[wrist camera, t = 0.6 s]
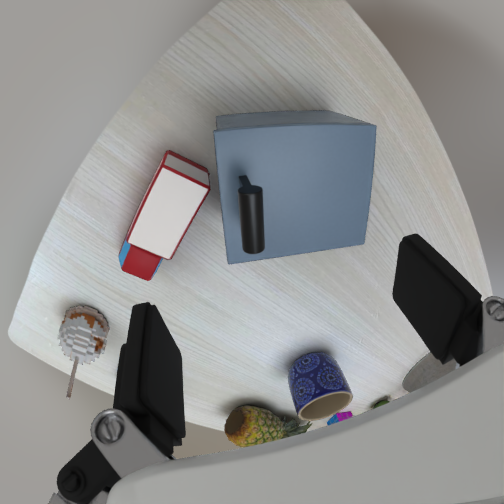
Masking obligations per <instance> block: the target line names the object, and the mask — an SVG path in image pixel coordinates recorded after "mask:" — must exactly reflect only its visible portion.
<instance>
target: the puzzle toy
mask: <svg viewBox="0 0 504 504" xmlns="http://www.w3.org/2000/svg"><path fill="white" fill-rule="evenodd" d="M352 416H353V415H352V413H351V412H344V413H336V414H335V415H334V416H333V417H332V418H331V419H330V420H329V421H328V422H327V424H328V425H331V424H334V423H337V422H340V421H343V420H346V419H348V418H351V417H352Z"/></svg>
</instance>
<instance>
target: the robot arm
mask: <svg viewBox="0 0 504 504" xmlns="http://www.w3.org/2000/svg"><path fill="white" fill-rule="evenodd" d="M392 295H393V299H394V301H395V303H396V304H397V305H398V307H399V308H400V309H401V311H402V312H403V313H404V315H405V316H406V318H407V319H408V320H409V322H410V323H411V324H412V326H413V327H414V329H415V330H416V331H417V333H418V334H419V336H420V337H421V339H422V340H423V341H424V343H425V344H426V346H427V347H428V349H429V350H430V352H431V353H432V355H433V356H434V357H435V359H437V360H440V362H441V363H442V365H444V364H446V363H447V362H449V361H451V360H453V358H454V359H455V361H456V369H455V370H453V371H452V372H450V373H448V374H446V375H444V376H443V377H441V378H439V379H437V380H435V381H433V382H431V383H429V384H427V385H425V386H423V387H421V388H419V389H417V390H415V391H413V392H411V393H409V394H407V395H405V396H402V397H400V398H398V399H396V400H393V401H391V402H389V403H387V404H384V405H382V406H379V407H377V408H375V409H372V410H370V411H367V412H364V413H362V414H359V415H357V416H354V417H351V418H348V419H346V420H343V421H340V422H337V423H334V424H331V425H328V426H325V427H322V428H319V429H315V430H312V431H309V432H306V433H302V434H299V435H295V436H291V437H288V438H284V439H280V440H276V441H272V442H267V443H263V444H259V445H254V446H249V447H244V448H239V449H234V450H230V451H224V452H218V453H212V454H206V455H199V456H193V457H187V458H181V459H176V458H175V457H174V456H173V455H172V454H173V446H181V445H182V438H184V437H185V435H186V431H185V416H184V398H183V375H182V356H181V353H180V350H179V349H178V347H177V345H176V343H175V341H174V339H173V338H172V336H171V334H170V332H169V330H168V328H167V326H166V325H165V323H164V321H163V319H162V317H161V315H160V313H159V311H158V309H157V307H156V306H155V305H151V304H150V303H149V302H146V303H141V304H137V305H134V306H133V308H132V313H131V319H130V324H129V330H128V337H127V343H126V344H123V345H122V347H121V351H120V357H119V364H118V371H117V378H116V386H115V395H114V404H113V409H107V410H104V411H102V412H100V413H99V414H98V415H97V416H96V417H95V418H94V420H93V422H92V424H91V429H90V430H91V436H92V440H91V441H90V442H89V443H88V444H87V445H86V446H85V447H84V448H83V449H82V450H80V452H78V453H77V454H76V455H75V456H74V457H73V458H72V459H71V460H70V461H69V462H68V463H67V464H66V465H65V466H64V467H63V468H62V469H61V470H60V472H59V474H58V477H57V486H58V489H59V491H58V493H57V494H56V493H54V494H53V495H52V497H51V499H50V501H49V503H48V504H504V299H502V298H500V297H497V296H491V297H488V298H486V299H485V300H484V302H482V301H481V300H480V299H481V297H482V295H481V294H480V293H479V292H478V291H477V290H476V289H475V288H474V287H473V286H472V285H471V284H470V283H469V282H468V281H467V280H466V279H465V278H464V277H463V276H462V275H461V274H460V273H459V272H458V271H457V270H456V269H455V268H454V267H453V266H452V265H451V264H450V263H449V262H448V261H447V260H446V259H445V258H444V257H443V256H442V255H441V254H439V253H438V252H437V251H436V250H435V249H434V248H433V247H432V246H431V245H430V244H429V243H427V242H426V241H425V240H424V239H423V238H422V237H421V236H420V235H418V234H412V235H408V236H405V237H403V239H402V241H401V242H400V244H399V251H398V259H397V267H396V273H395V280H394V286H393V293H392Z"/></svg>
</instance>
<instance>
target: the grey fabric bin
mask: <svg viewBox="0 0 504 504" xmlns="http://www.w3.org/2000/svg"><path fill="white" fill-rule="evenodd" d="M455 369H456V361H455V359H454V358H453V360H451V361H449V362H447V363H446V364H444V365H442V363H441V362H440V360H437V359H435V357H434V356H433V355H432V353H431V352H430V353H429V354H428V355H426V356H425V357H424V358H423V359H422V360H420V361H419V362H418V363H417V364H416V365H415V366H414V367H413V368H412V369H411V370H410V372H409V373H408V374H407V376H406V377H405V379H404V381H403V388H404V389H405V390H407V391H408V392H410V393H411V392H413V391H415V390H417V389H419V388H421V387H423V386H425V385H427V384H429V383H431V382H433V381H435V380H437V379H439V378H441V377H443V376H444V375H446V374H448V373H450V372H452V371H453V370H455Z"/></svg>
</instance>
